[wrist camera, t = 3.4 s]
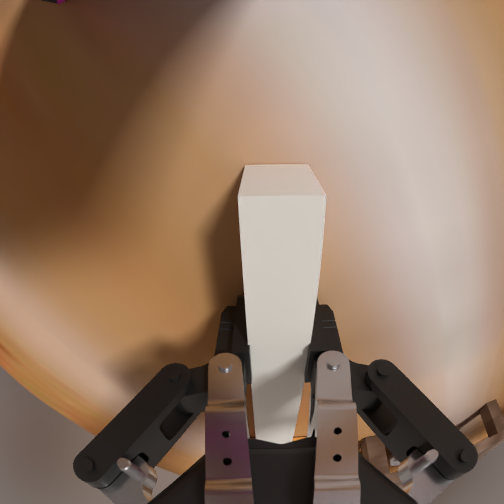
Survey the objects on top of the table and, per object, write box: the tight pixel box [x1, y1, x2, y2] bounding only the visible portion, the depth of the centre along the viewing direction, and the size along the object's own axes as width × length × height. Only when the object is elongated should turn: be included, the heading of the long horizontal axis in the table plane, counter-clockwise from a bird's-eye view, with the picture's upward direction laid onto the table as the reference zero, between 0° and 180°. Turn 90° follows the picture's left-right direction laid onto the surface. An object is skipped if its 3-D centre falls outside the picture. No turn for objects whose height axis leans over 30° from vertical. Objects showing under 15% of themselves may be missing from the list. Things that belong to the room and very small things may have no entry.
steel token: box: [389, 454, 400, 466], centre depth 29 cm, size 6×6×2 cm
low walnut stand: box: [361, 400, 504, 489], centre depth 25 cm, size 20×14×6 cm
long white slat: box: [238, 164, 326, 444], centre depth 16 cm, size 8×26×4 cm, turn 2°
